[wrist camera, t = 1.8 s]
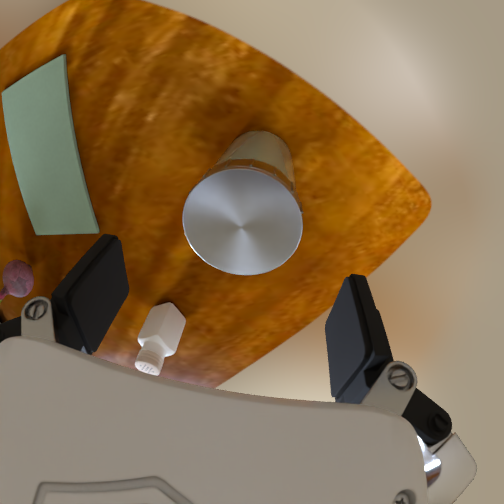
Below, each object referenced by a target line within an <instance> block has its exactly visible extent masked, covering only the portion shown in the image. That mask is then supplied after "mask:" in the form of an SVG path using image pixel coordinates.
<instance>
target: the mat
mask: <svg viewBox="0 0 504 504" xmlns="http://www.w3.org/2000/svg"><path fill="white" fill-rule="evenodd" d="M2 102H3V110H4V118H5V125H6V131H7V136H8V142H9V147H10V151H11V156H12V160H13V164H14V168H15V172H16V176H17V180H18V183H19V187H20V190H21V193H22V196H23V200H24V203H25V206H26V209H27V212H28V214H29V217H30V220H31V223H32V225H33V228H34V231H35V233H36V235H54V234H87V233H99V232H100V230H99V227H98V224H97V221H96V218H95V214H94V211H93V208H92V204H91V201H90V197H89V194H88V190H87V186H86V182H85V178H84V174H83V170H82V166H81V161H80V157H79V152H78V147H77V142H76V137H75V131H74V125H73V119H72V113H71V106H70V98H69V89H68V79H67V66H66V54H63V55H61V56H59V57H57V58H55V59H54V60H52V61H50V62H48V63H46V64H45V65H43V66H41V67H39V68H38V69H36V70H34V71H33V72H31V73H30V74H28V75H26V76H25V77H23V78H22V79H20V80H19V81H17V82H16V83H14V84H13V85H11V86H10V87H9V88H7V89H6V90H4V91H3V92H2Z"/></svg>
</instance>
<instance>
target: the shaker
mask: <svg viewBox="0 0 504 504" xmlns="http://www.w3.org/2000/svg"><path fill="white" fill-rule="evenodd" d="M253 158H255V160H258V161H261V162H265V163H267V164H269V165H271V166H273V167H275V166H276V167H277V169H278V170H279V171H281V172H282V173H283V174H284V175H285V176H286V177H287V178H288V179H289V180H290V181H291V182H293V183H294V188H295V190H296V184H295V176H294V169H293V162H292V156H291V153H290V150H289V148H288V146H287V145H286V144H285V142H284V141H283V140H282V139H280V138H279V137H278V136H276V135H274V134H272V133H270V132H266V131H250V132H247V133H244V134H242V135H240V136H239V137H237V138H236V139H235V140H234V141H233V142H232V144H231V145H230V146H229V147H228V148H227V150H226V151H225V152H224V153H223V155H222V156H221V157H220V158H219V160H218V161H217V162H216V163H215V165H214V166H213V167H215V166H217V165H218V164H220V163H223V162H226V161H228V160H229V159H231V160H234V159H253ZM213 167H212V168H213ZM296 192H297V191H296Z"/></svg>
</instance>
